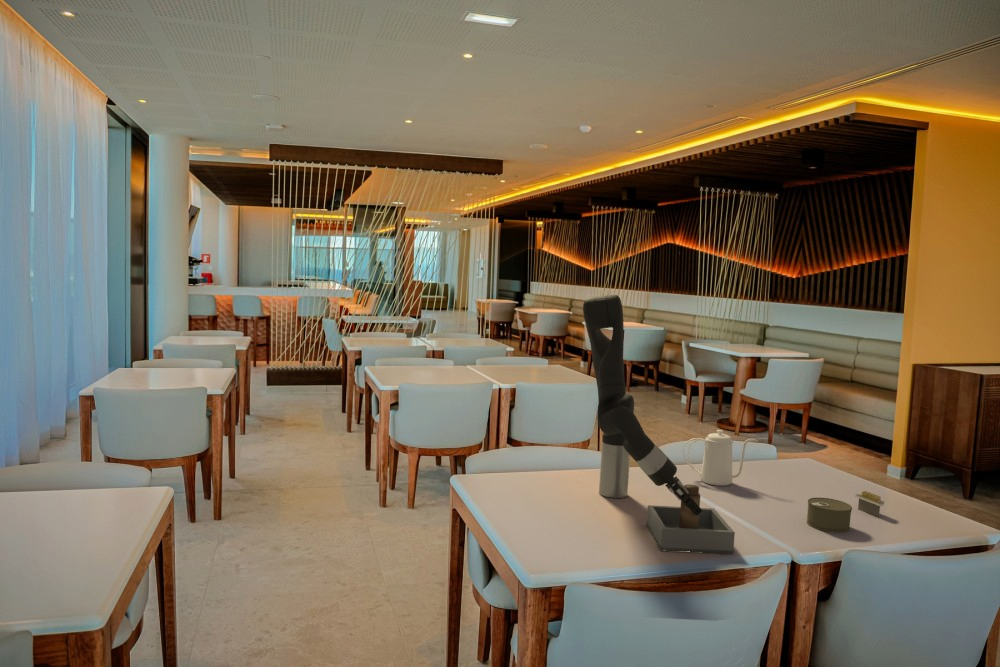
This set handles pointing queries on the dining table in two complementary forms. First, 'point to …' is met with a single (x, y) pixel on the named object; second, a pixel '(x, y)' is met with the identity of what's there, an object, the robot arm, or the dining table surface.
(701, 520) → the serving bin
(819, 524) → the can
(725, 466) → the coffeepot
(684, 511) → the pepper mill
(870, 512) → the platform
